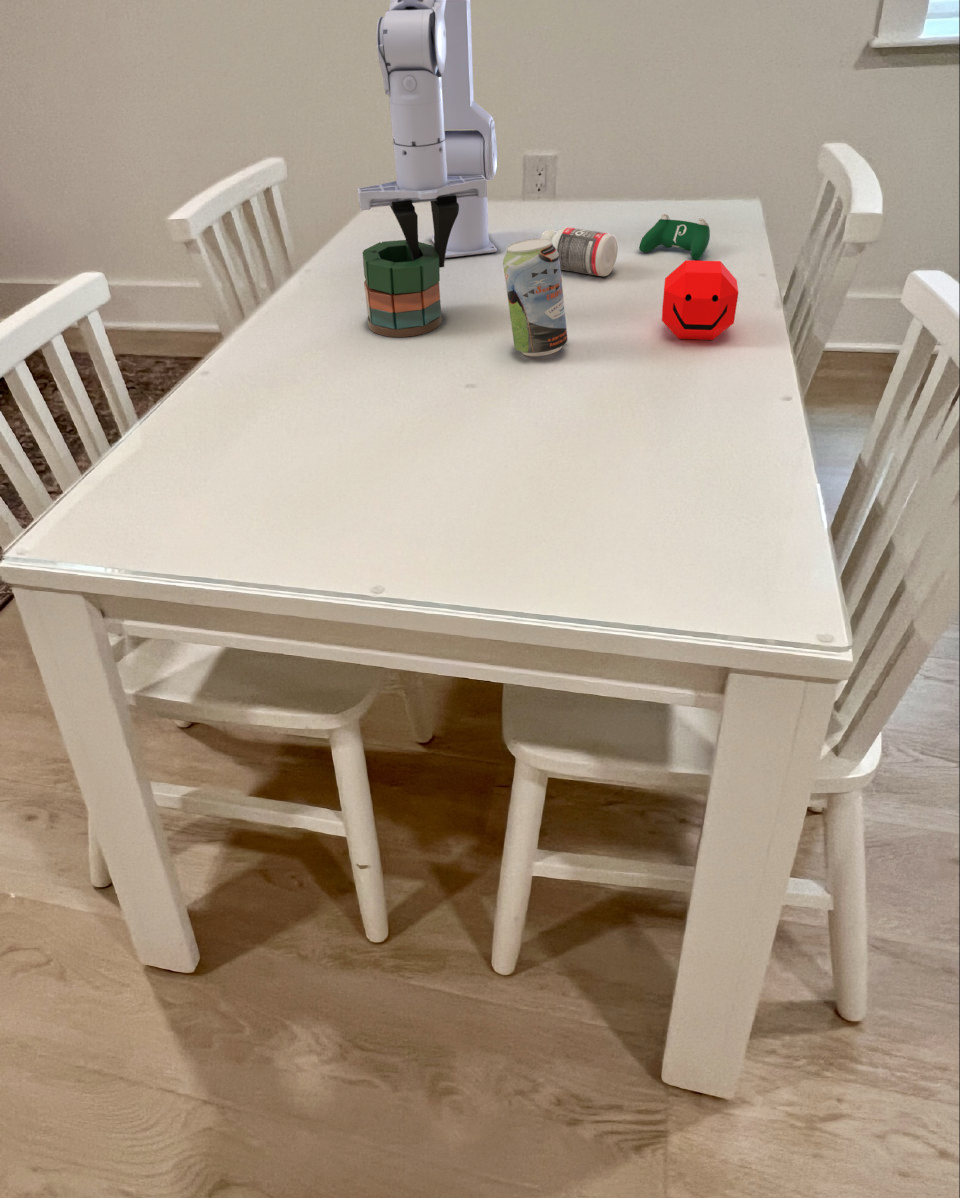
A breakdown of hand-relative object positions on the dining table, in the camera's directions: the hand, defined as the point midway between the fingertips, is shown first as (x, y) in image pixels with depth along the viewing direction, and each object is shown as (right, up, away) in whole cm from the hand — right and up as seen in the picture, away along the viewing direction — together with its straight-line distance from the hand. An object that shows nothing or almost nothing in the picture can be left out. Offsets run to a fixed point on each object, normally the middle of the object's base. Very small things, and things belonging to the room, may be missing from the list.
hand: (428, 266), depth 106 cm
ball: (+31, -9, -2) cm, 33 cm away
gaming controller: (+34, +9, +20) cm, 40 cm away
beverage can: (+13, -11, -4) cm, 17 cm away
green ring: (-3, -1, 0) cm, 4 cm away
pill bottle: (+24, +6, +11) cm, 27 cm away
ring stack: (-3, -6, +4) cm, 7 cm away
